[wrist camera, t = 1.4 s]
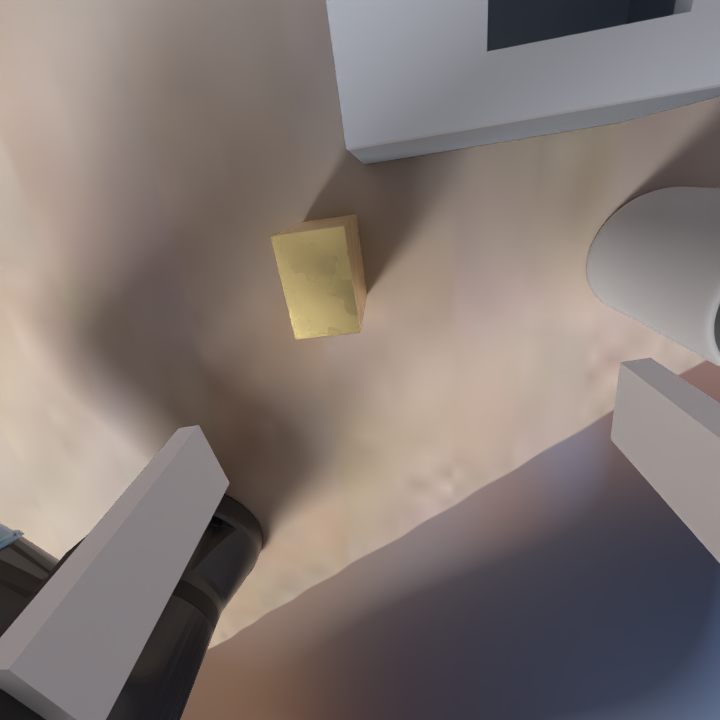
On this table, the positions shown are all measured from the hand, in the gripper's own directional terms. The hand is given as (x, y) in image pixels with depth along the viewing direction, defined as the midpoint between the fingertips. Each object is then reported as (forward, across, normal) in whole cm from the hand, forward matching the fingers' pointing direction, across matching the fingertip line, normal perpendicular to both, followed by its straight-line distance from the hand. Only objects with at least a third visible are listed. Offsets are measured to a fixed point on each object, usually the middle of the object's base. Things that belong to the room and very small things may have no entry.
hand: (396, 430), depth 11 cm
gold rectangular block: (+18, -4, +3) cm, 19 cm away
